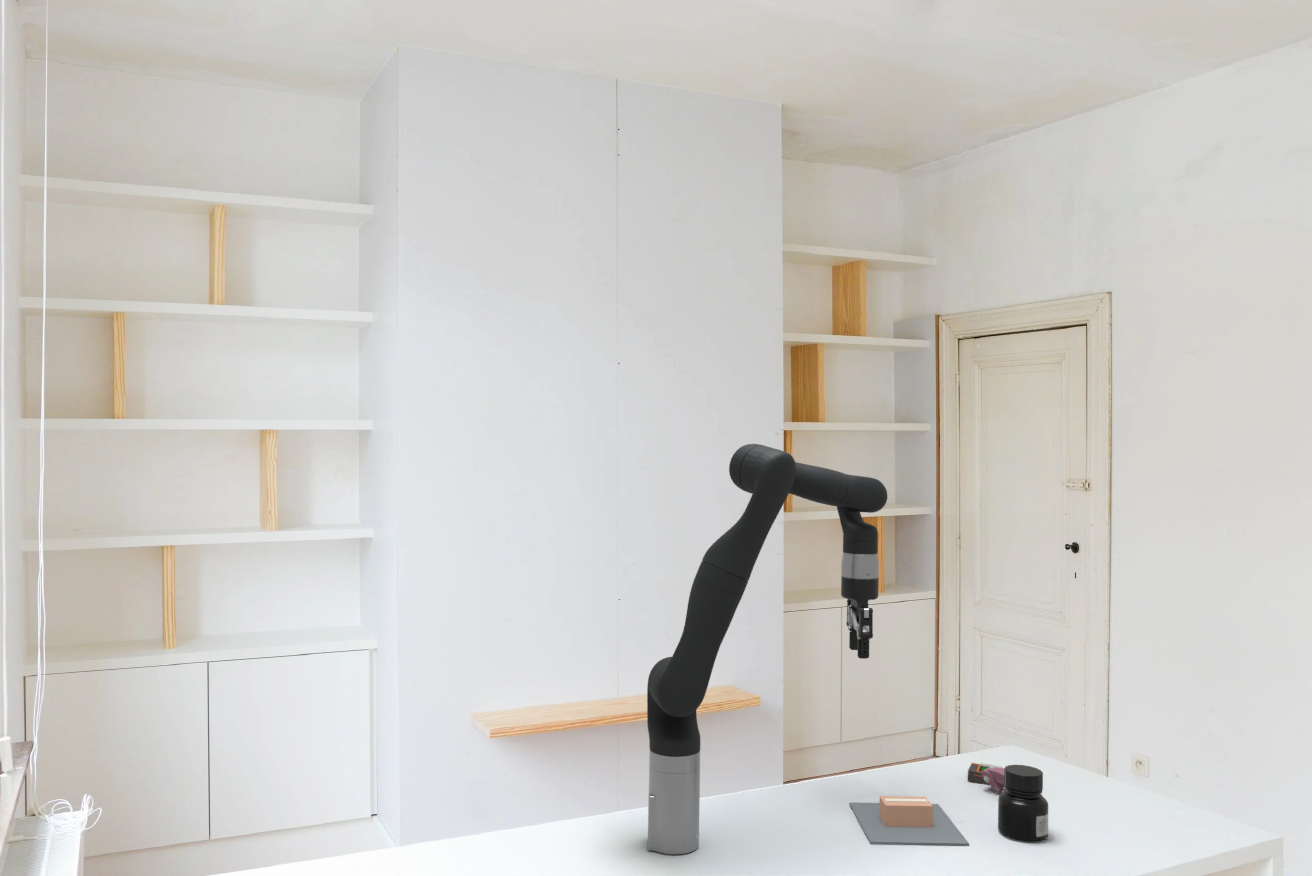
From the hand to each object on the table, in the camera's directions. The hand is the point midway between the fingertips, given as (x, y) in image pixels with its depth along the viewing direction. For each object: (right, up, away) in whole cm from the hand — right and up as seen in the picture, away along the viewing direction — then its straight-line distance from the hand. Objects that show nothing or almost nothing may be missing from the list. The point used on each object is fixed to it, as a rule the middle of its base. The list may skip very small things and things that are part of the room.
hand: (858, 653), depth 200 cm
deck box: (+6, -30, -12) cm, 33 cm away
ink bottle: (+27, -31, -17) cm, 44 cm away
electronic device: (+34, -31, +12) cm, 48 cm away
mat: (+6, -30, -12) cm, 33 cm away
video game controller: (+32, -31, +5) cm, 45 cm away
